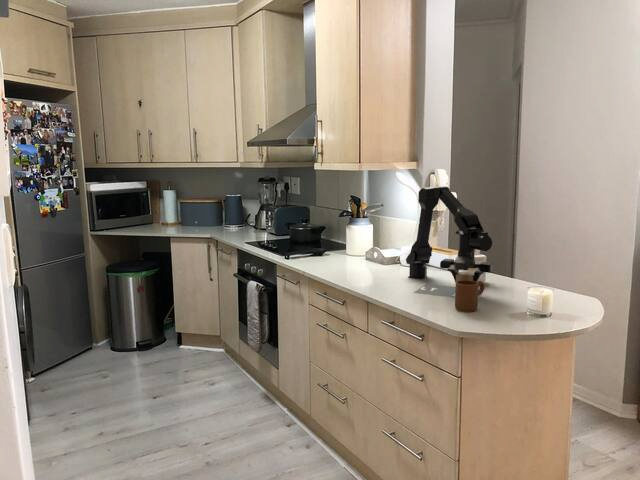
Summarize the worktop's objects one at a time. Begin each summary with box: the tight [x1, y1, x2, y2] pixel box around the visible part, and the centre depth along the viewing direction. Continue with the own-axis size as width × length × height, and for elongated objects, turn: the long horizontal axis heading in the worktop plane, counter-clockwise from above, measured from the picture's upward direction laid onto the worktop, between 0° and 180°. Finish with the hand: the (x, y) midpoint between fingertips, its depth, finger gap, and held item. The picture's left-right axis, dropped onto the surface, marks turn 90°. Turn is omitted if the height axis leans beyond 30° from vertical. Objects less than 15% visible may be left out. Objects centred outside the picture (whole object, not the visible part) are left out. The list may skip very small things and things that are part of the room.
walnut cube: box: [456, 271, 474, 282], centre depth 199 cm, size 6×6×6 cm
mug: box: [454, 280, 486, 313], centre depth 180 cm, size 12×8×9 cm, turn 120°
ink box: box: [461, 249, 487, 284], centre depth 215 cm, size 9×5×15 cm, turn 105°
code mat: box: [412, 283, 479, 299], centre depth 203 cm, size 22×16×1 cm
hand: (465, 287), depth 199 cm, fingers closed on walnut cube, 6 cm apart
